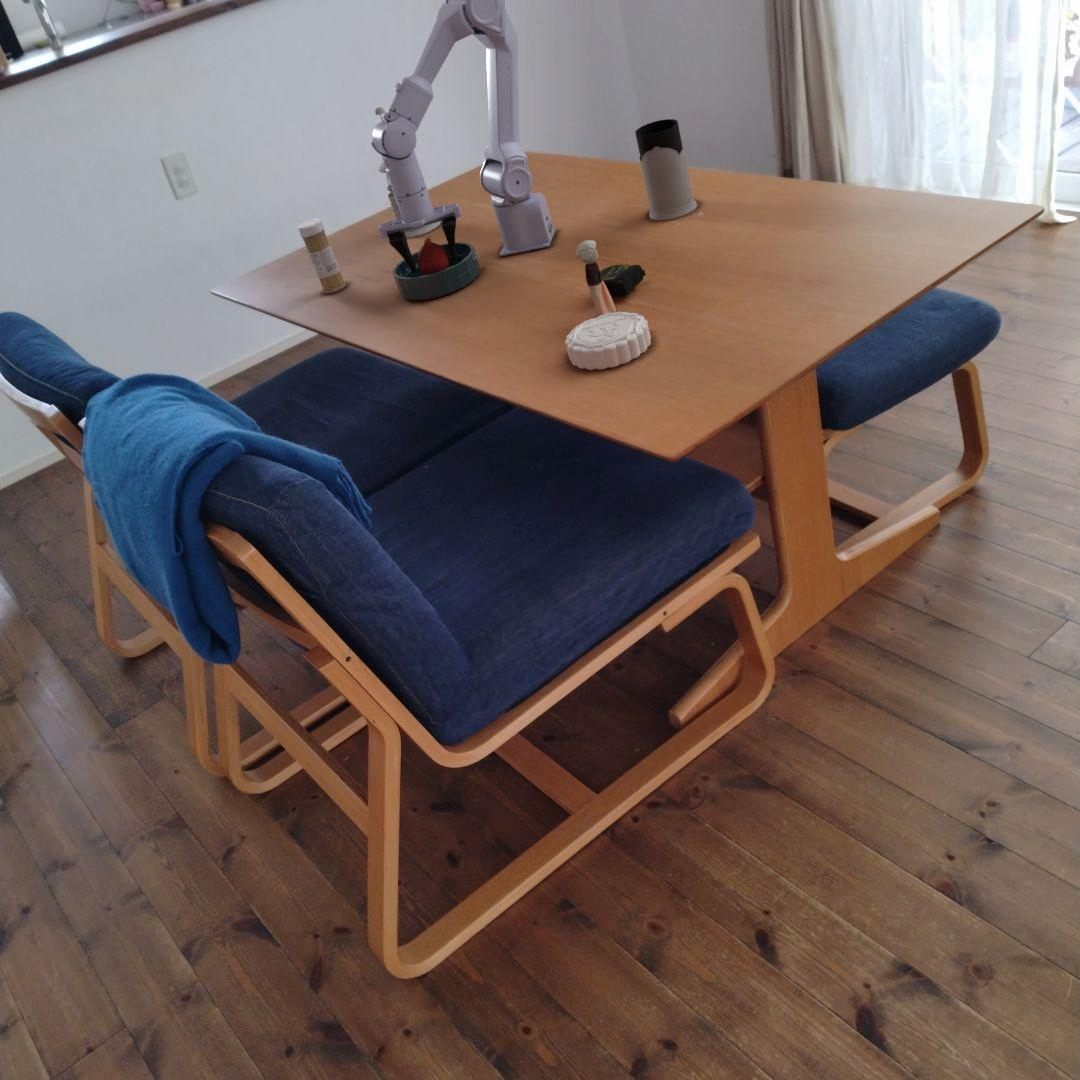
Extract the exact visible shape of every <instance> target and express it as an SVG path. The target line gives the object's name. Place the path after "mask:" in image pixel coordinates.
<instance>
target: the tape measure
mask: <svg viewBox="0 0 1080 1080" xmlns="http://www.w3.org/2000/svg"><path fill="white" fill-rule="evenodd" d="M600 273H601V277H602V280H603V282H604V284H605V285H606V287H607V289H608V291H609V294H610V296H611V298H612V300H613V299H619V298H624V297H627V296H628V295H629V294H630V293H631V292H632V291H633V290H634V289H635V288H636V287H637V286H638V285H639V284H640V283H641V282H643V280H644V277H646V270H645V269H643V268H642V266H641V265H640V264H632V265H629V264H626V263H625V264H624V263H620V264H619V263H618V264H613V265H609V266H606V267H604V268H602V269H601V270H600Z"/></svg>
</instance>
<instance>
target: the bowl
mask: <svg viewBox="0 0 1080 1080" xmlns="http://www.w3.org/2000/svg"><path fill="white" fill-rule="evenodd" d="M440 245H441V246H442V247H444V248H445V250H446V251H447V252H448V255H449V258H450V267H449V268H447V269H445V270H443V271H440V272H437V273H433V274H430V275H423V274H422V273H421V271H420V269H419V267H418V259H417V258H418V253H419V251H416V252H413V254H412V253H411V255H412V257H413V259H414V262H415V265H416V272H414V273H412V271H411V269H410V268H409V266H408V264H407V263H406V261H405V260H404V259H402V260H401V261H399V262H398V263H397V264H396V265H395V266H394V268H393V270H392V276H393V279H394V281H395V284H396V287H397V290H398V292H399V295H400V296H401V297H402V298H403V299H407V300H411V301H426V300H433V299H437V298H440V297H444V296H448V295H450V294H452V293H454V292H457V291H459V290H461V289H463V288H465V287H466V286H468V285H469V284H470V283H472V282H473V281H474V280H476V278H477V277H479V275H480V272H481V270H482V269H481V265H480V263H479V259H478V257H477V253H476V251H475V250H476V249H475V247H474V245H473V244H471V243H469V242H465V241H455V248H456V254H457V261H453V260H452V257H451V253H450V249H449V245H448V242H446V243H441V244H440Z"/></svg>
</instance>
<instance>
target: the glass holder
mask: <svg viewBox="0 0 1080 1080" xmlns="http://www.w3.org/2000/svg"><path fill="white" fill-rule="evenodd" d="M634 133H635V138H636V144H637V148H638V154H639V163H640V167H641V173H642V176H643V181H644V186H645V191H646V195H647V200H648V205H649V215H648V217H649V218H650V219H651V220H654V221H668V220H669V221H670V220H673V219H674V220H675V219H678V218H681V217H684V216H686V215H688V214H690V213H692V212H693V211H694V210H696V208H697V207H698V203H697V201H696V200H695V197H694V194H693V190H692V184H691V178H690V173H689V167H688V163H687V157H686V153H685V152H686V151H685V147H683V143H682V142H683V141H682V137H681V132H680V126H679V122H678V120H677V119H674V118H665V119H660V120H656V121H651V122H650V123H647V124H644V125H642V126H640V127H638V128H637V129H636V130H635V132H634Z"/></svg>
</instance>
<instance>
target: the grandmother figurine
mask: <svg viewBox="0 0 1080 1080" xmlns="http://www.w3.org/2000/svg"><path fill="white" fill-rule="evenodd" d="M575 257H576V258H578V259H579V258H580V259H581V261H582V263H584V265H585V266H584V271H585V272H584V273H585V281H586V284H587V286H588V290H589V293H590V295H591V298H592V300H593V303H594V307H595V318H597V317H599V316H601V315H604V314H606V313H616V312H617V308H616V306H615V303H614V300H613V299H612V298H611V296H610V294H609V291H608V289H607V287H606V285H605V284H604V282H603V280H602V277H601V273H600V271H601V270H600V268H599V264H598V263H597V261H598V260H599V257H600V255H599V252H598V249H597V242H596V241H595V240H593V239H588V240H583V241H581V243H579V245H578V247H577V249H576V253H575Z"/></svg>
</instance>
